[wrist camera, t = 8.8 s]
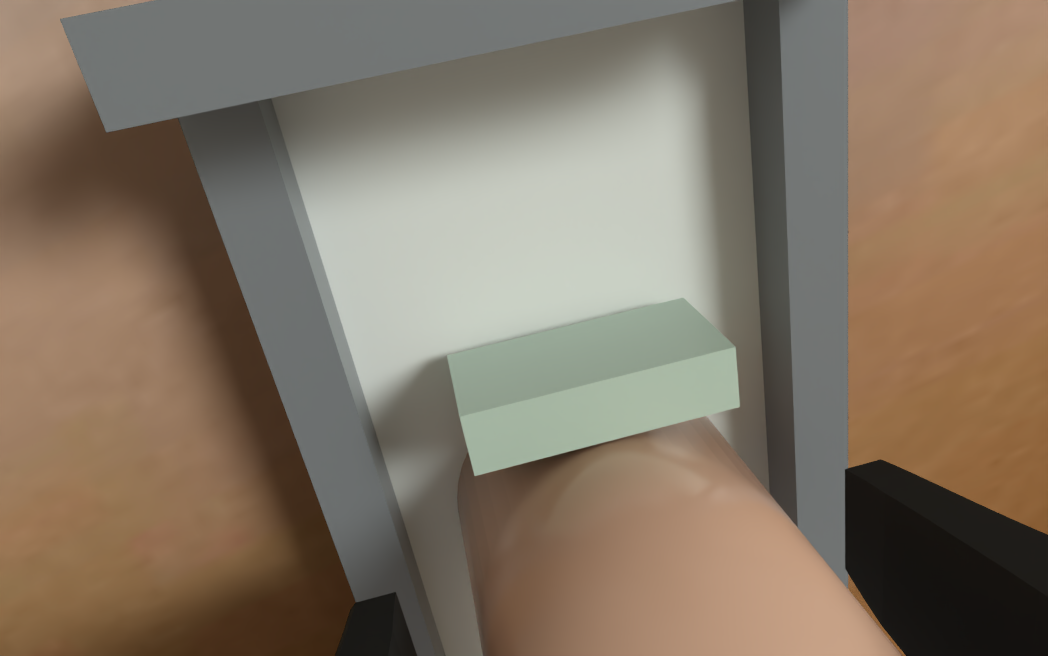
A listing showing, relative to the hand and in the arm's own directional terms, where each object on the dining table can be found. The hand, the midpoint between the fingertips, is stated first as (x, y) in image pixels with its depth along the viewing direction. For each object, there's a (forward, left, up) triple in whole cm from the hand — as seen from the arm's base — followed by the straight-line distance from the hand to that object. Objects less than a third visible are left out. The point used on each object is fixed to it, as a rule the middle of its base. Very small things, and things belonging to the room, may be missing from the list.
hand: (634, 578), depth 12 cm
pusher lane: (0, -1, -3) cm, 3 cm away
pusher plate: (0, +3, -2) cm, 4 cm away
